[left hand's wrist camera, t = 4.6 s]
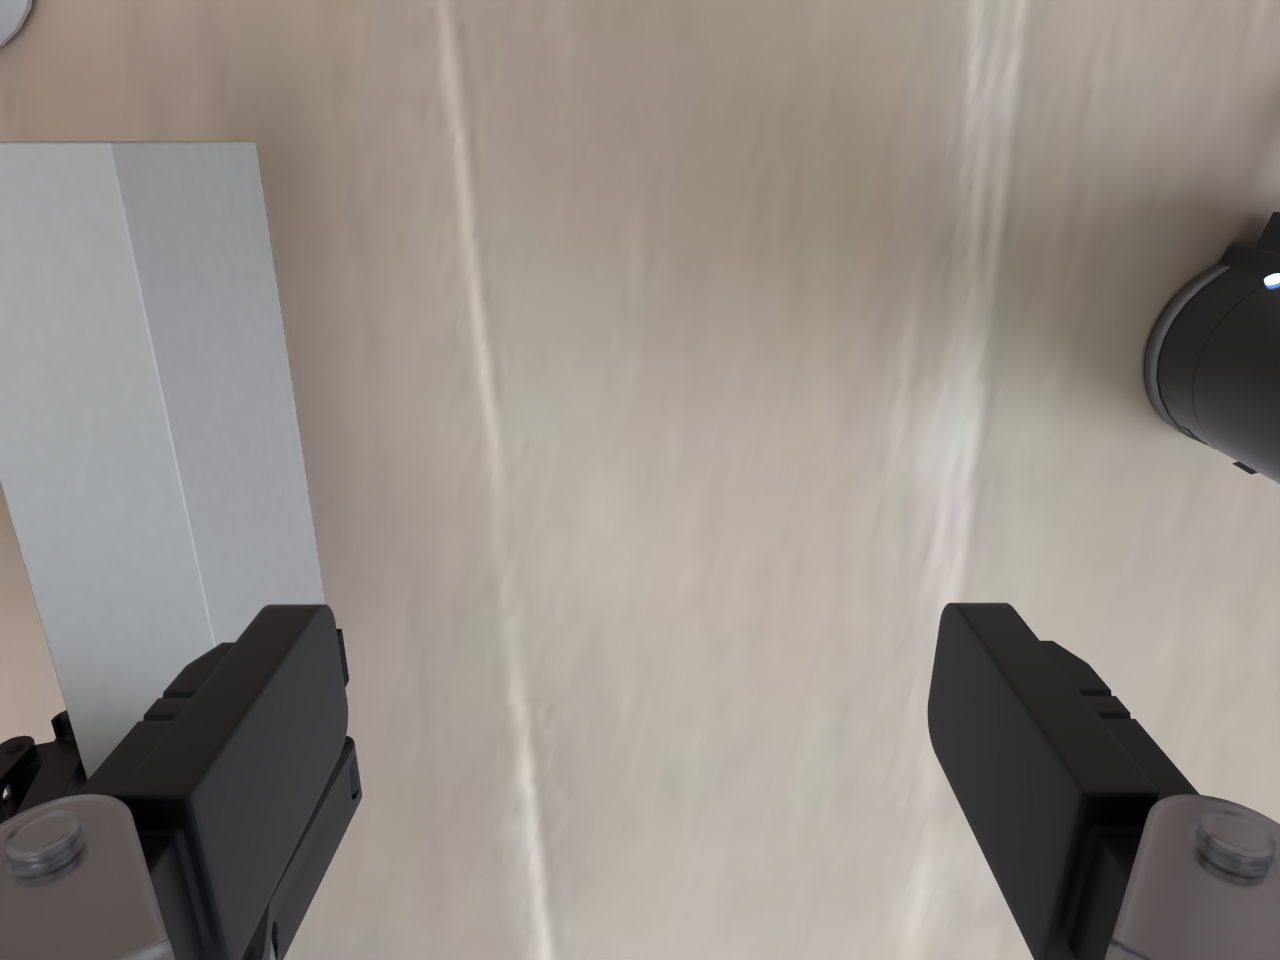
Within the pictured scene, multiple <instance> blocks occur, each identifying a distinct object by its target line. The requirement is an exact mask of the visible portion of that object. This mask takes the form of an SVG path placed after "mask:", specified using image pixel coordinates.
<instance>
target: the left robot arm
mask: <svg viewBox="0 0 1280 960" xmlns="http://www.w3.org/2000/svg"><path fill="white" fill-rule="evenodd" d="M1145 382H1146V387H1147V391H1148V394H1149V397H1150V400H1151V402H1152V404H1153V406H1154V408H1155V409H1156V411H1157V412H1158V414H1159V415H1160V416H1161V417H1162V418H1163V419H1164V420H1165V421H1166V422H1167V423H1168V424H1169V425H1170V426H1172V427H1173V428H1174V429H1176V430H1178V431H1179V432H1181V433H1183V434H1185V435H1186V436H1188V437H1190V438H1192V439H1194V440H1197V441H1199V442H1202V443H1203V444H1205V445H1208V446H1210V447H1212V448H1214V449H1216V450H1218V451H1220V452H1222V453H1224V454H1226V455H1227V456H1229V457H1231V458H1233V459H1235V460H1237V461H1238V462H1236V463H1232V464H1234V465H1236V466H1237V467H1239V468H1241V469H1243V470H1244V471H1246V472H1248V473H1250V474H1255V473H1258V472H1259V473H1261V474H1262V475H1264V476H1266V477H1268V478H1270V479H1272V480H1274V481H1275V482H1277V483H1279V484H1280V212H1274V213H1273V214H1272V216H1271V218H1270V220H1269V222H1268V224H1267V226H1266V228H1265V230H1264V231H1263V233H1262V235H1261V237H1260V239H1259V241H1258V243H1257V245H1256V246H1254V245H1249V244H1243V243H1233V244H1231V245H1230V247H1229V248H1228V250H1227V252H1226V254H1225V256H1224V258H1223V259H1222V261H1221V262H1220V264H1219V265H1217V266H1215V267H1213V268H1212V269H1210V270H1208V271H1206V272H1205V273H1203V274H1202V275H1200V276H1199V277H1197V278H1196V279H1195V280H1194V281H1192V282H1191V283H1190V284H1188V285H1187V286H1186V287H1185V288H1184V289H1183V290H1182V291H1181V292H1180V293H1179V294H1178V295H1177V296H1176V297H1175V298H1174V299H1173V301H1172V302H1171V303H1170V304H1169V306H1168V307H1167V308H1166V310H1165V311H1164V313H1163V314H1162V316H1161V317H1160V319H1159V321H1158V323H1157V325H1156V327H1155V329H1154V331H1153V333H1152V336H1151V339H1150V342H1149V345H1148V349H1147V353H1146V360H1145ZM143 716H144V718H143V721H138V722H137V723H136V724H135V726H134V727H133V728H132V729H131V730H130V731H129V733H128V734H127V735H126V736H125V737H124V738H123V740H122V741H121V742H120V743H119V744H118V745H117V747H116V748H115V749H114V750H113V751H112V752H111V754H110V755H109V756H108V757H107V758H106V759H105V761H104V762H103V763H102V764H101V765H100V766H99V767H98V769H97V770H96V771H95V772H94V773H93V774H92V776H91V777H90V778H89V779H88V780H87V781H86V783H85V784H84V785H83V786H82V787H81V788H80V790H79V791H78V792H77V793H76V794H75V795H74V796H69V797H64V798H60V799H56V800H52V801H49V802H46V803H43V804H40V805H38V806H35V807H33V808H30V809H28V810H25V811H23V812H21V813H19V814H17V815H15V816H13V817H12V818H10V819H8V820H7V821H5V822H3V823H2V824H0V960H241V959H242V957H243V954H244V952H245V950H246V948H247V946H248V944H249V942H250V940H251V938H252V936H253V934H254V932H255V930H256V928H257V926H258V924H259V922H260V919H261V917H262V915H263V913H264V911H265V909H266V907H267V905H268V903H269V901H270V899H271V897H272V895H273V893H274V891H275V889H276V886H277V884H278V882H279V880H280V878H281V876H282V874H283V872H284V870H285V868H286V866H287V864H288V862H289V860H290V858H291V856H292V854H293V851H294V849H295V847H296V845H297V843H298V841H299V839H300V837H301V835H302V833H303V831H304V829H305V827H306V825H307V823H308V821H309V819H310V816H311V814H312V812H313V810H314V808H315V806H316V804H317V802H318V800H319V798H320V796H321V794H322V792H323V790H324V788H325V786H326V784H327V781H328V779H329V777H330V775H331V773H332V771H333V769H334V767H335V765H336V763H337V761H338V759H339V757H340V755H341V752H342V749H343V746H344V743H345V738H346V733H347V724H348V705H347V697H346V691H345V684H344V677H343V670H342V664H341V657H340V650H339V644H338V637H337V630H336V624H335V619H334V615H333V612H332V610H331V609H330V607H329V606H328V605H325V604H269V605H266V606H265V607H263V608H262V609H261V611H260V612H259V613H258V614H257V616H256V617H255V618H254V619H253V621H252V622H251V623H250V624H249V626H248V627H247V628H246V629H245V631H244V632H243V633H242V634H241V636H240V637H239V638H238V639H237V640H236V642H222V643H221V644H219V645H218V646H216V647H214V648H213V649H211V650H210V651H208V652H207V653H205V654H203V655H202V656H200V657H199V658H197V659H196V660H194V661H193V662H191V663H189V664H188V665H186V666H185V668H184V669H183V670H182V671H181V672H180V673H179V674H178V676H177V677H176V678H175V679H174V680H173V681H172V683H171V684H170V685H169V686H168V687H167V688H166V690H165V691H164V692H163V697H162V698H158V699H157V700H156V701H155V702H154V704H153V705H152V706H151V707H150V708H149V709H148V711H147V712H146V713H145V714H144V715H143ZM928 726H929V733H930V738H931V743H932V746H933V749H934V752H935V754H936V756H937V758H938V760H939V762H940V764H941V766H942V769H943V771H944V773H945V775H946V777H947V779H948V781H949V783H950V785H951V787H952V789H953V791H954V794H955V796H956V798H957V800H958V802H959V804H960V806H961V808H962V810H963V812H964V814H965V816H966V819H967V821H968V823H969V825H970V827H971V829H972V831H973V833H974V835H975V837H976V839H977V841H978V844H979V846H980V848H981V850H982V852H983V854H984V856H985V858H986V860H987V862H988V864H989V867H990V869H991V871H992V873H993V875H994V877H995V879H996V881H997V883H998V885H999V887H1000V889H1001V892H1002V894H1003V896H1004V898H1005V900H1006V902H1007V904H1008V906H1009V908H1010V910H1011V912H1012V914H1013V917H1014V919H1015V921H1016V923H1017V925H1018V927H1019V929H1020V931H1021V933H1022V935H1023V937H1024V939H1025V942H1026V944H1027V946H1028V948H1029V950H1030V952H1031V954H1032V956H1033V958H1034V960H1280V824H1278V823H1277V822H1275V821H1273V820H1272V819H1270V818H1268V817H1267V816H1265V815H1263V814H1261V813H1259V812H1257V811H1255V810H1252V809H1250V808H1247V807H1245V806H1242V805H1240V804H1237V803H1234V802H1231V801H1228V800H1224V799H1220V798H1216V797H1211V796H1204V795H1200V794H1199V793H1198V792H1197V791H1196V790H1195V788H1194V787H1193V786H1192V785H1191V784H1190V783H1189V781H1188V780H1187V779H1186V778H1185V777H1184V776H1183V774H1182V773H1181V772H1180V771H1179V770H1178V769H1177V767H1176V766H1175V765H1174V764H1173V763H1172V761H1171V760H1170V759H1169V758H1168V757H1167V756H1166V754H1165V753H1164V752H1163V751H1162V750H1161V749H1160V747H1159V746H1158V745H1157V744H1156V743H1155V742H1154V740H1153V739H1152V738H1151V737H1150V736H1149V734H1148V733H1147V732H1146V731H1145V730H1144V729H1143V727H1142V726H1141V725H1140V724H1139V723H1138V722H1137V720H1136V719H1131V717H1130V712H1129V711H1128V710H1127V709H1126V708H1125V706H1124V705H1123V704H1122V703H1121V702H1120V700H1119V699H1118V698H1117V697H1116V696H1112V695H1111V690H1110V689H1109V688H1108V686H1107V685H1106V684H1105V683H1104V682H1103V681H1102V679H1101V678H1100V677H1099V676H1098V675H1097V673H1096V672H1095V671H1094V670H1093V669H1092V668H1091V666H1090V665H1089V664H1088V663H1086V662H1085V661H1083V660H1082V659H1080V658H1078V657H1077V656H1075V655H1074V654H1072V653H1071V652H1069V651H1067V650H1066V649H1064V648H1063V647H1061V646H1060V645H1058V644H1057V643H1055V642H1053V641H1039V639H1038V638H1037V637H1036V636H1035V634H1034V633H1033V632H1032V631H1031V629H1030V628H1029V627H1028V626H1027V624H1026V623H1025V622H1024V621H1023V619H1022V618H1021V617H1020V616H1019V614H1018V613H1017V612H1016V611H1015V609H1014V608H1013V607H1012V606H1011V605H1010V604H1008V603H948V604H947V605H946V606H945V608H944V610H943V612H942V615H941V619H940V625H939V632H938V639H937V645H936V652H935V659H934V666H933V673H932V679H931V686H930V693H929V700H928Z"/></svg>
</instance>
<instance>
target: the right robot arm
mask: <svg viewBox="0 0 1280 960" xmlns="http://www.w3.org/2000/svg"><path fill="white" fill-rule="evenodd" d="M336 630H337V637H338V644H339V650H340V657H341V664H342V670H343V677H344V684H345V687H346V685H347V683H348V681H349V675H348V668H347V662H346V655H345V648H344V641H343V634H342V629H336ZM51 722H52V726H53V729H54V732H55V736H56V739H55V741H53V742H49V743H43V744H38V745H35V742H34V739H33V738H32V737H30V736H19V737H14V738H11V739H9V740H7V741H5V742H3V743H2V744H0V824H2V823H3V822H5V821H7V820H8V819H10V818H12V817H13V816H15V815H17V814H19V813H21V812H23V811H25V810H28V809H30V808H33V807H35V806H38V805H40V804H43V803H46V802H49V801H52V800H56V799H60V798H64V797H69V796H74V795H75V794H76V793H77V792H78V791H79V790H80V788H81V787H82V786H83V785H84V784H85V783H86V781H87V777H86V774H85V770H84V767H83V763H82V760H81V756H80V753H79V750H78V746H77V743H76V739H75V736H74V732H73V729H72V726H71V722H70V719H69V715H68V712H67V710H66V711H64V712H61V713H59V714H58V715H56V716H55V717H54V718H53V719H52V720H51ZM5 788H6V790H7V793H8V794H7V795H6V797H5V798H3V793H4V790H5ZM361 798H362V790H361V783H360V776H359V770H358V763H357V756H356V749H355V743H354V740H353V739H352V738H351V737H349V736H346V738H345V743H344V746H343V749H342V752H341V755H340V757H339V759H338V761H337V763H336V765H335V767H334V769H333V771H332V773H331V775H330V777H329V779H328V781H327V784H326V786H325V788H324V790H323V792H322V794H321V796H320V798H319V800H318V802H317V804H316V806H315V808H314V810H313V812H312V814H311V816H310V819H309V821H308V823H307V825H306V827H305V829H304V831H303V833H302V835H301V837H300V839H299V841H298V843H297V845H296V847H295V849H294V851H293V854H292V856H291V858H290V860H289V862H288V864H287V866H286V868H285V870H284V872H283V874H282V876H281V878H280V880H279V882H278V884H277V886H276V889H275V891H274V893H273V895H272V897H271V899H270V901H269V903H268V905H267V907H266V909H265V911H264V913H263V915H262V917H261V919H260V922H259V924H258V926H257V928H256V930H255V932H254V934H253V936H252V938H251V940H250V942H249V944H248V946H247V948H246V950H245V952H244V954H243V957H242V959H241V960H283V959H284V957H285V955H286V953H287V951H288V949H289V947H290V945H291V943H292V941H293V938H294V936H295V934H296V932H297V930H298V928H299V926H300V924H301V922H302V920H303V918H304V916H305V914H306V912H307V910H308V908H309V906H310V904H311V901H312V899H313V897H314V895H315V893H316V891H317V889H318V887H319V885H320V883H321V881H322V879H323V877H324V875H325V873H326V871H327V869H328V867H329V864H330V862H331V860H332V858H333V856H334V854H335V852H336V850H337V848H338V846H339V844H340V842H341V840H342V838H343V836H344V834H345V832H346V830H347V827H348V825H349V823H350V821H351V819H352V817H353V815H354V813H355V811H356V809H357V807H358V805H359V803H360V801H361Z"/></svg>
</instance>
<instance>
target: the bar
mask: <svg viewBox="0 0 1280 960" xmlns="http://www.w3.org/2000/svg"><path fill="white" fill-rule="evenodd" d="M0 482H1V486H2V489H3V493H4V496H5V499H6V503H7V506H8V510H9V513H10V517H11V520H12V523H13V527H14V530H15V534H16V537H17V541H18V544H19V547H20V551H21V554H22V558H23V561H24V565H25V568H26V571H27V575H28V578H29V582H30V585H31V589H32V592H33V595H34V599H35V602H36V606H37V609H38V613H39V616H40V619H41V623H42V626H43V630H44V633H45V636H46V640H47V643H48V647H49V650H50V654H51V657H52V660H53V664H54V667H55V671H56V674H57V678H58V681H59V684H60V688H61V691H62V695H63V698H64V702H65V705H66V708H67V712H68V715H69V719H70V722H71V726H72V729H73V732H74V736H75V739H76V743H77V746H78V750H79V753H80V756H81V760H82V763H83V767H84V770H85V774H86V777H87V780H88V779H89V778H90V777H91V776H92V774H93V773H94V772H95V771H96V770H97V769H98V767H99V766H100V765H101V764H102V763H103V762H104V761H105V759H106V758H107V757H108V756H109V755H110V754H111V752H112V751H113V750H114V749H115V748H116V747H117V745H118V744H119V743H120V742H121V741H122V740H123V738H124V737H125V736H126V735H127V734H128V733H129V731H130V730H131V729H132V728H133V727H134V726H135V724H136V723H137V722H138V721H143V718H144V716H143V715H144V714H145V713H146V712H147V711H148V709H149V708H150V707H151V706H152V705H153V704H154V702H155V701H156V700H157V699H158V698H162V697H163V692H164V691H165V690H166V688H167V687H168V686H169V685H170V684H171V683H172V681H173V680H174V679H175V678H176V677H177V676H178V674H179V673H180V672H181V671H182V670H183V669H184V668H185V666H186V665H188V664H189V663H191V662H193V661H194V660H196V659H197V658H199V657H200V656H202V655H203V654H205V653H207V652H208V651H210V650H211V649H213V648H214V647H216V646H218V645H219V644H221V643H222V642H236V640H237V639H238V638H239V637H240V636H241V634H242V633H243V632H244V631H245V629H246V628H247V627H248V626H249V624H250V623H251V622H252V621H253V619H254V618H255V617H256V616H257V614H258V613H259V612H260V611H261V609H262V608H263V607H265V606H266V605H269V604H325V598H324V592H323V585H322V578H321V572H320V565H319V559H318V552H317V546H316V539H315V532H314V526H313V519H312V513H311V506H310V499H309V493H308V486H307V480H306V473H305V466H304V460H303V453H302V447H301V440H300V433H299V427H298V420H297V414H296V407H295V400H294V394H293V387H292V381H291V374H290V367H289V361H288V354H287V348H286V341H285V334H284V328H283V321H282V315H281V308H280V302H279V295H278V288H277V282H276V275H275V269H274V262H273V255H272V249H271V242H270V236H269V229H268V222H267V216H266V209H265V203H264V196H263V189H262V183H261V176H260V170H259V163H258V156H257V150H256V143H255V142H254V141H16V142H0Z"/></svg>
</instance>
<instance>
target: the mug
mask: <svg viewBox="0 0 1280 960" xmlns="http://www.w3.org/2000/svg"><path fill="white" fill-rule="evenodd" d="M32 1H33V0H0V47H1V46H4V45H5V44H6V43H7V42H8V41H9V40H10V39H11V38H12V37H13V36H14V35H15V34H16V33H17V32H18V31H19V30H20V29H21V27H22V25H23V23H24V21H25V19H26V17H27V15H28V13H29V11H30V9H31V6H32Z"/></svg>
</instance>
